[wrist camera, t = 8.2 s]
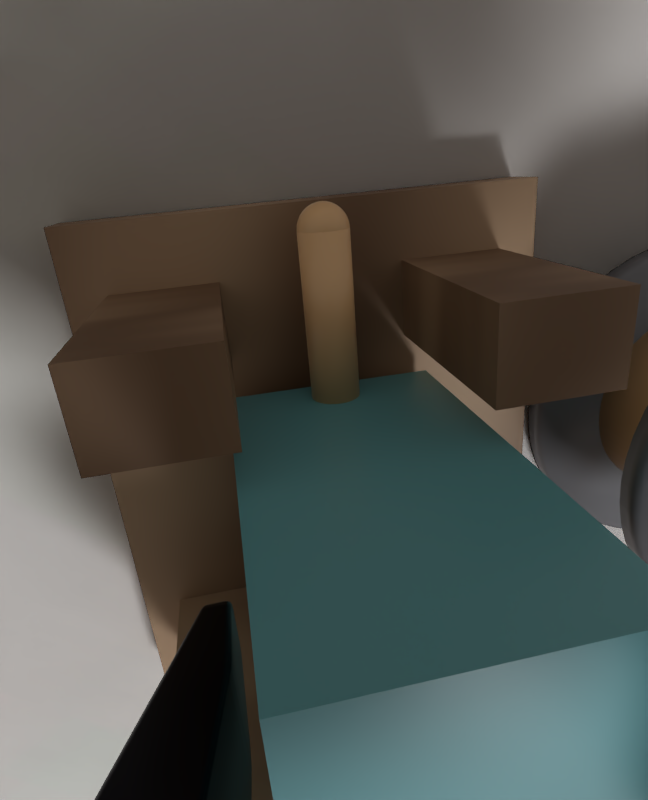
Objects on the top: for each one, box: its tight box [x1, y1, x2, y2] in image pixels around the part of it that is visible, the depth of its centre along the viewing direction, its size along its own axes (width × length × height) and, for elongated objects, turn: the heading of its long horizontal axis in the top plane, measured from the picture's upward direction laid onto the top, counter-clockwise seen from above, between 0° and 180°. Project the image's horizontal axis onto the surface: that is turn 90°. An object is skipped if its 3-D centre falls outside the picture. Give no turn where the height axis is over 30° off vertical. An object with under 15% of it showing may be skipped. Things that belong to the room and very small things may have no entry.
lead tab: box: [233, 201, 648, 800], centre depth 8 cm, size 4×8×7 cm, turn 5°
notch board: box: [44, 177, 641, 800], centre depth 10 cm, size 9×11×7 cm
